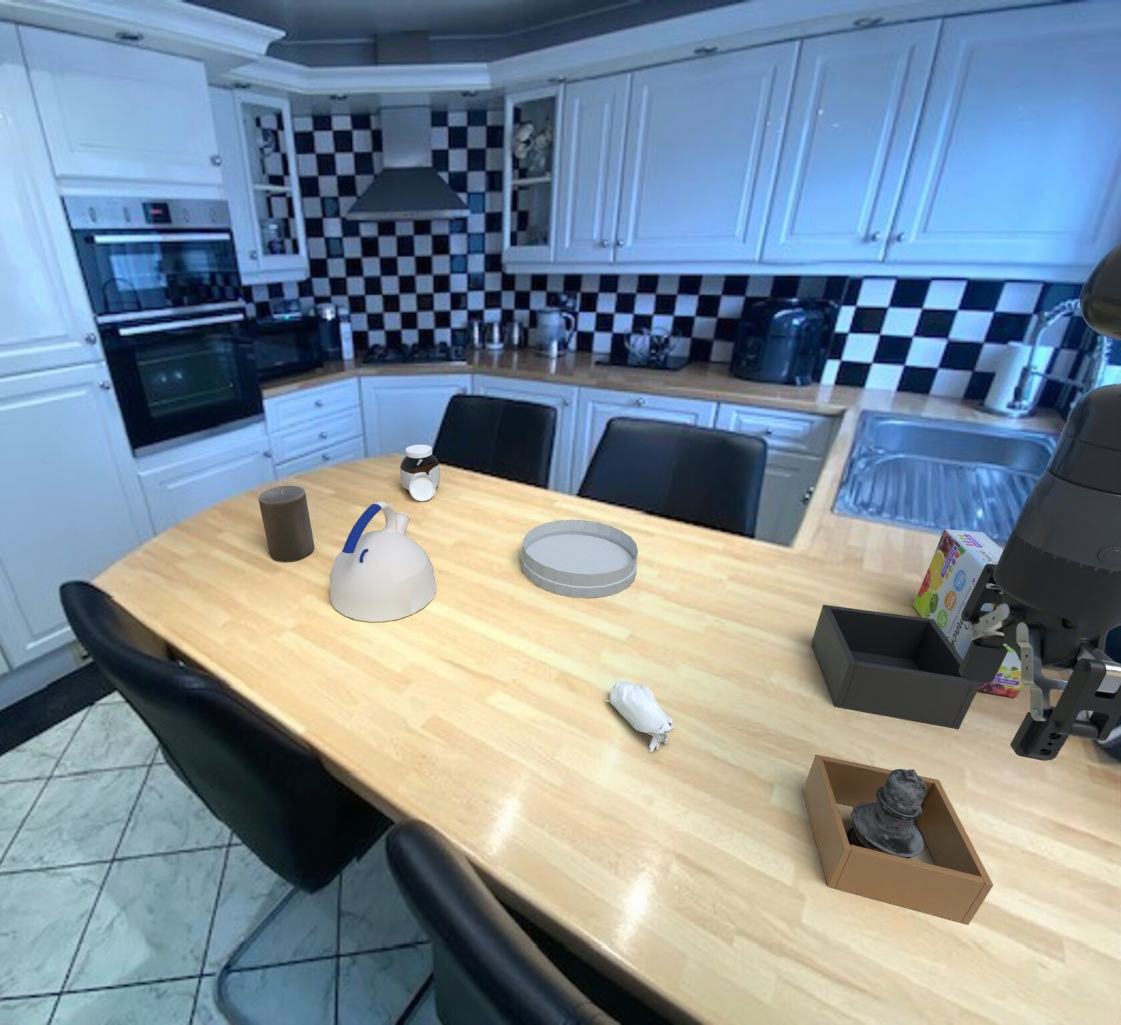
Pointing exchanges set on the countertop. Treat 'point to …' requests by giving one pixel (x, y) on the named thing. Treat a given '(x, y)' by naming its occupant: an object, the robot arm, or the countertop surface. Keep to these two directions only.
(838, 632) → the open box
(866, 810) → the dark grey chess piece
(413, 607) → the kettle
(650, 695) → the white oblong lumpy piece
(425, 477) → the spread jar
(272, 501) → the pillar candle
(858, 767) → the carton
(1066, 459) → the robot arm
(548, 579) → the dish
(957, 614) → the snack box
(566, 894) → the countertop surface
